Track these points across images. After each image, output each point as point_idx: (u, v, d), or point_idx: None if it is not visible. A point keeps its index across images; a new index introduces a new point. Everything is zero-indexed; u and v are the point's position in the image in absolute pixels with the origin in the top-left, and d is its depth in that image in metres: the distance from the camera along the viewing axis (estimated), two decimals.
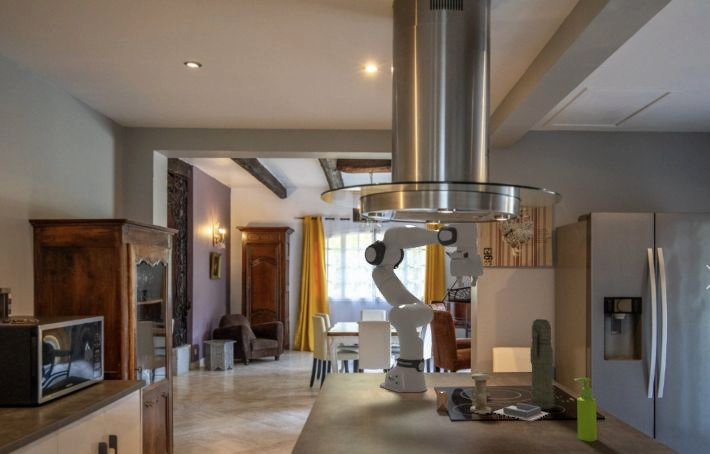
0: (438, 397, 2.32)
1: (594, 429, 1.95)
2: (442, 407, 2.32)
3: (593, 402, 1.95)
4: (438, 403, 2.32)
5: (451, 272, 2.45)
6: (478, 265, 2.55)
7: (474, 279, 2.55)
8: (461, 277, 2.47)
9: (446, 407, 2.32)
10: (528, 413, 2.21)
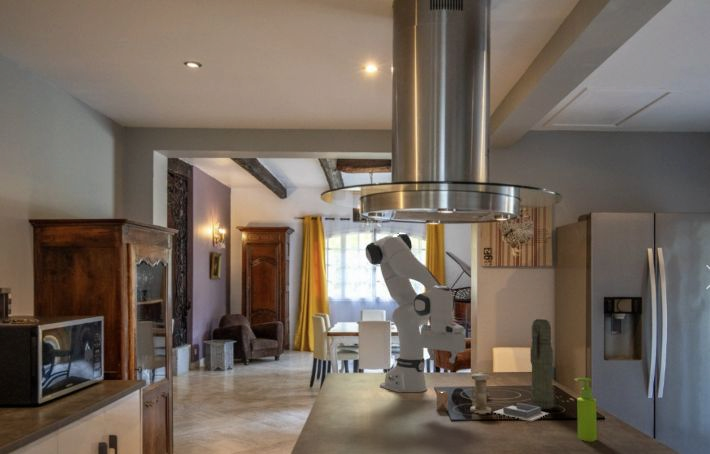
0: (438, 397, 2.32)
1: (594, 429, 1.95)
2: (442, 407, 2.32)
3: (593, 402, 1.95)
4: (438, 403, 2.32)
5: (461, 348, 2.27)
6: None
7: (430, 352, 2.39)
8: None
9: (446, 407, 2.32)
10: (528, 413, 2.21)
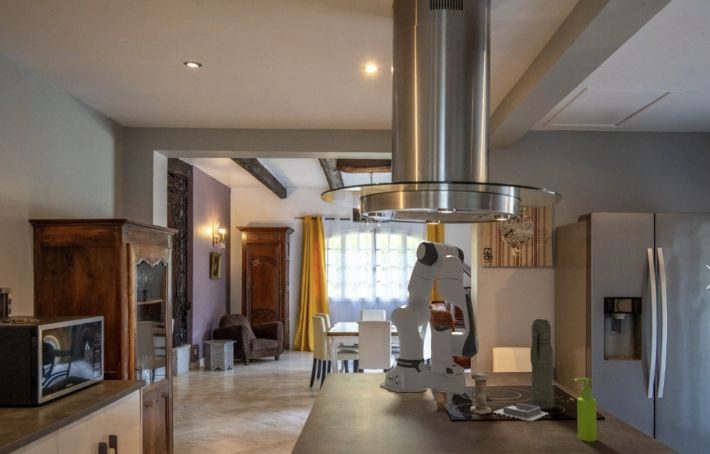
0: (438, 397, 2.32)
1: (594, 429, 1.95)
2: (442, 407, 2.32)
3: (593, 402, 1.95)
4: (438, 403, 2.32)
5: (461, 390, 2.26)
6: None
7: (434, 392, 2.37)
8: None
9: (446, 407, 2.32)
10: (528, 413, 2.21)
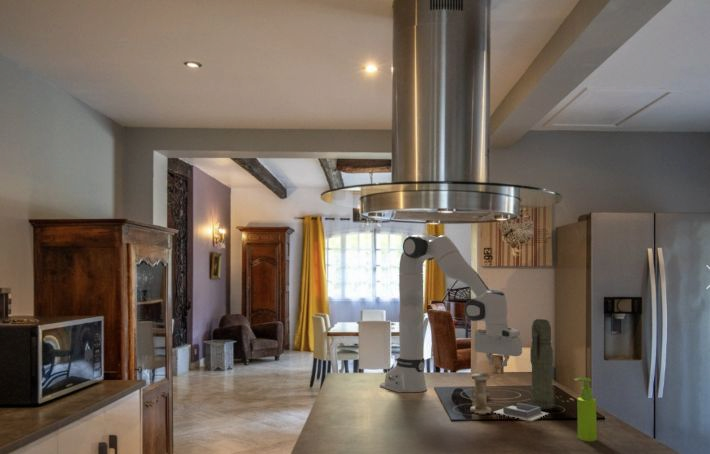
0: (494, 360, 2.36)
1: (594, 429, 1.95)
2: (499, 370, 2.35)
3: (593, 402, 1.95)
4: (494, 366, 2.36)
5: (518, 352, 2.30)
6: None
7: (489, 356, 2.40)
8: None
9: (502, 370, 2.36)
10: (528, 413, 2.21)
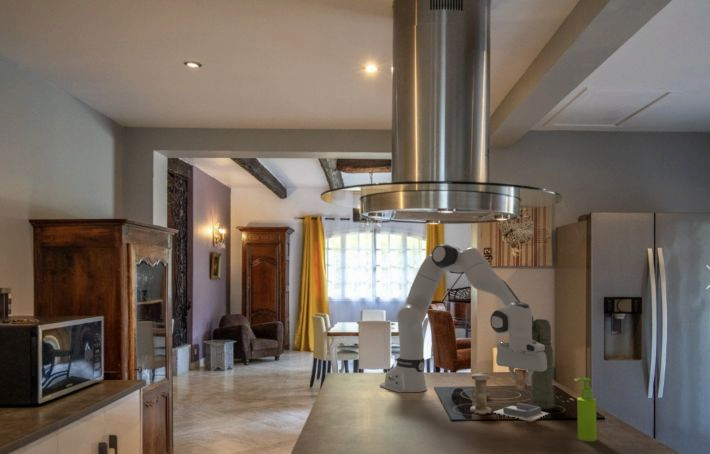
0: (517, 375, 2.27)
1: (594, 429, 1.95)
2: (522, 385, 2.27)
3: (593, 402, 1.95)
4: (517, 381, 2.27)
5: (543, 367, 2.21)
6: None
7: (512, 371, 2.32)
8: None
9: (526, 385, 2.27)
10: (528, 413, 2.21)
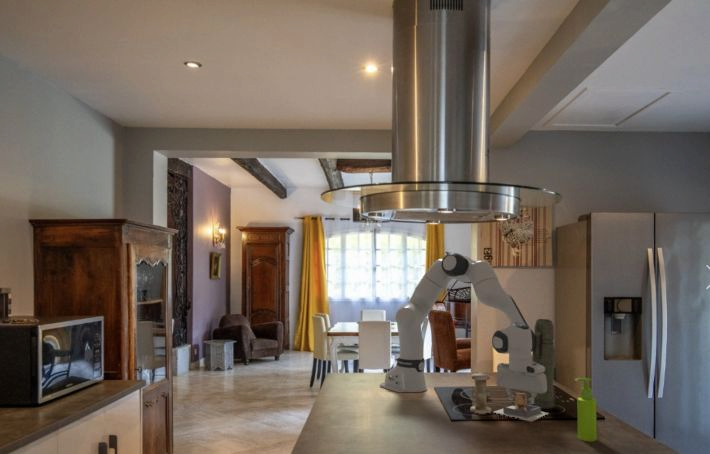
0: (517, 399, 2.27)
1: (594, 429, 1.95)
2: (522, 409, 2.26)
3: (593, 402, 1.95)
4: (517, 405, 2.27)
5: (543, 389, 2.21)
6: None
7: (509, 391, 2.32)
8: None
9: (525, 409, 2.27)
10: (528, 413, 2.21)
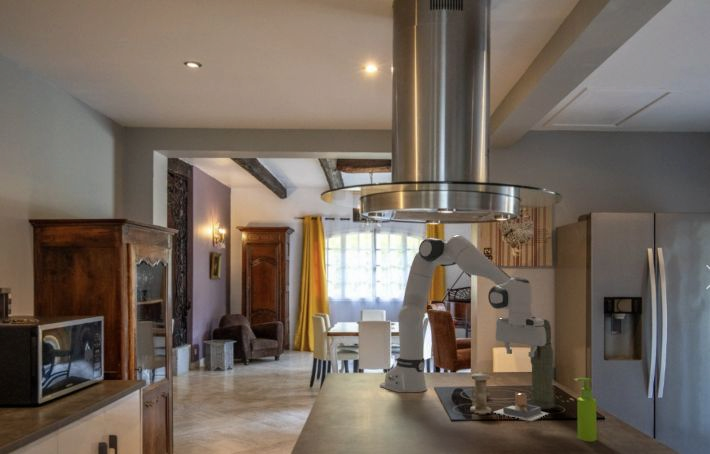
0: (517, 399, 2.27)
1: (594, 429, 1.95)
2: (522, 409, 2.26)
3: (593, 402, 1.95)
4: (517, 405, 2.27)
5: (542, 342, 2.22)
6: None
7: (507, 345, 2.33)
8: None
9: (525, 409, 2.27)
10: (528, 413, 2.21)
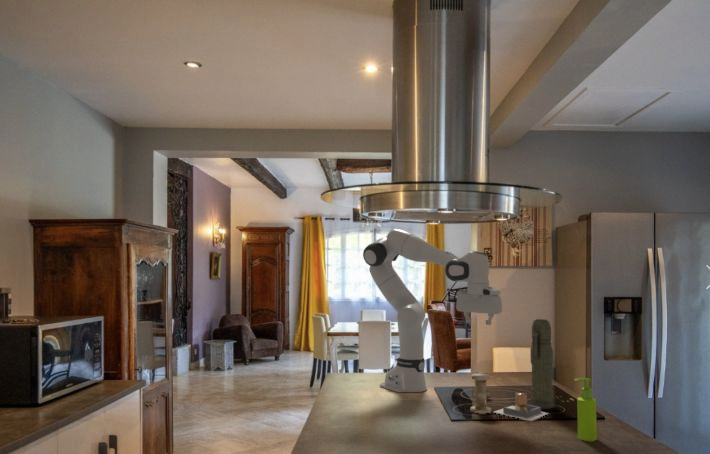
0: (517, 399, 2.27)
1: (594, 429, 1.95)
2: (522, 409, 2.26)
3: (593, 402, 1.95)
4: (517, 405, 2.27)
5: (498, 310, 2.36)
6: None
7: (467, 315, 2.47)
8: None
9: (525, 409, 2.27)
10: (528, 413, 2.21)
